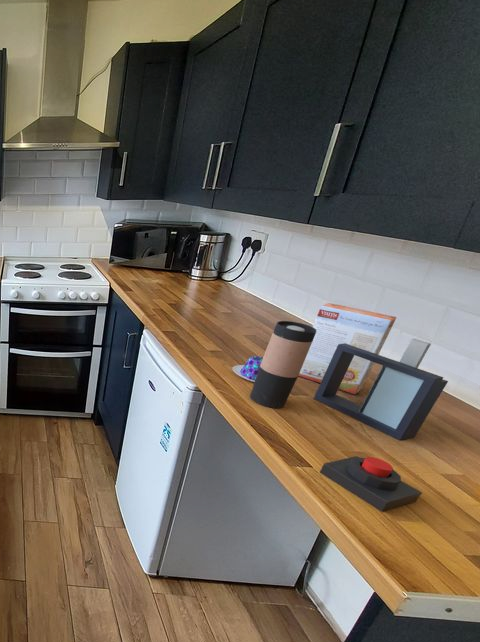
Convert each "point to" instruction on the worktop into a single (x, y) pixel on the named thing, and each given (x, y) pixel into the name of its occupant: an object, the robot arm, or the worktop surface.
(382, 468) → the button
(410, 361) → the sash
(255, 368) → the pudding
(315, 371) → the cracker box
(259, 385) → the travel mug
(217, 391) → the worktop surface
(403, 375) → the window frame
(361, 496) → the control block
